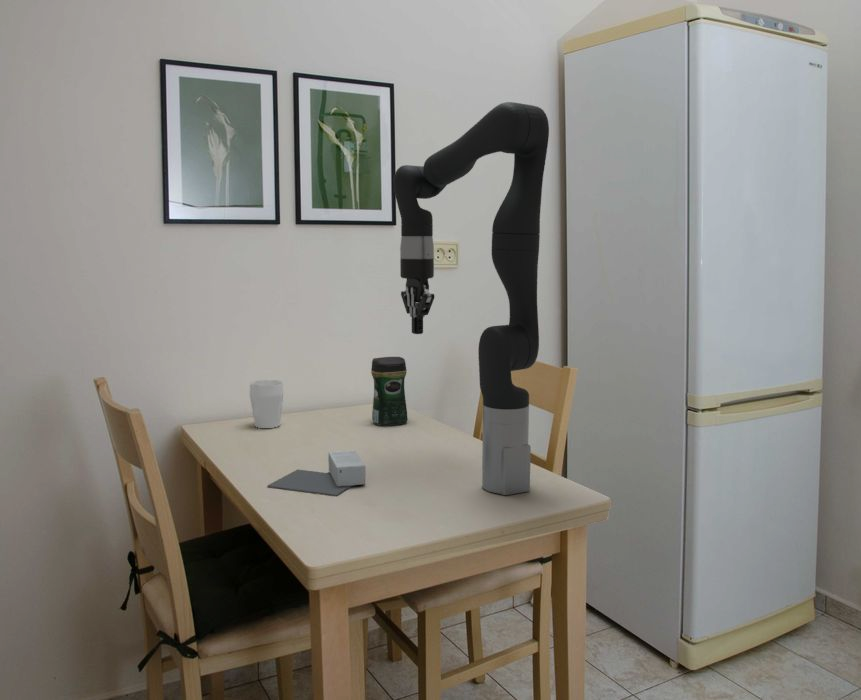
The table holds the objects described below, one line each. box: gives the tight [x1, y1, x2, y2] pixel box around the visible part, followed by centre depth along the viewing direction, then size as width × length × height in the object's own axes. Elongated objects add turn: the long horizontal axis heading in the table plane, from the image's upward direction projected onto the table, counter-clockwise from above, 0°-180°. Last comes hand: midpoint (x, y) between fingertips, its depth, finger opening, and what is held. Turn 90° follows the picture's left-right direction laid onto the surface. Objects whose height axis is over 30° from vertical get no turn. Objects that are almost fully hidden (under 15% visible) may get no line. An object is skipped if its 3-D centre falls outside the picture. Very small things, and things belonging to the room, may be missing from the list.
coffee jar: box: [370, 356, 409, 427], centre depth 208 cm, size 10×8×19 cm
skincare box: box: [327, 449, 366, 487], centre depth 159 cm, size 6×4×12 cm
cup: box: [249, 379, 285, 429], centre depth 205 cm, size 9×9×12 cm
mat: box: [266, 469, 354, 497], centre depth 157 cm, size 12×16×1 cm
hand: (417, 333), depth 171 cm, fingers closed
